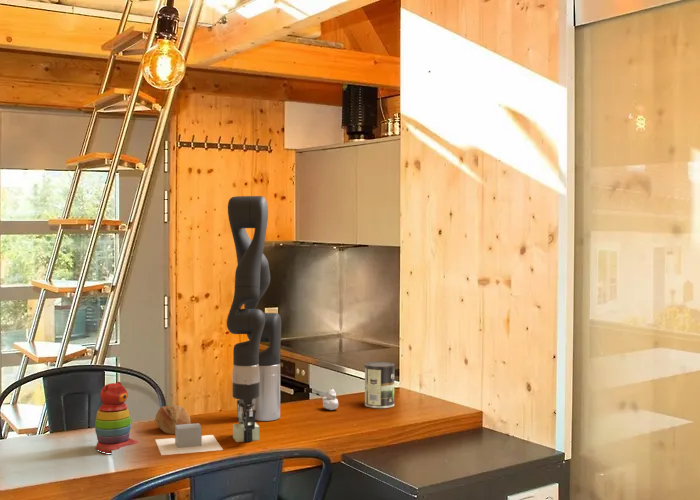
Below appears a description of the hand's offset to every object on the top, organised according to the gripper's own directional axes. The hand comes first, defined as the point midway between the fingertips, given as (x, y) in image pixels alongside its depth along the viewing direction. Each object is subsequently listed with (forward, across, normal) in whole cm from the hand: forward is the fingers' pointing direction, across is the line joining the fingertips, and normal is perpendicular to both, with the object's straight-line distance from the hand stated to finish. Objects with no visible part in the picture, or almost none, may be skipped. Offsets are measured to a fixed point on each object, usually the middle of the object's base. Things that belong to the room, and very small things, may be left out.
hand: (245, 440), depth 223 cm
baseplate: (+1, +1, -16) cm, 16 cm away
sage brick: (+1, 0, 0) cm, 1 cm away
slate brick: (-1, +1, -16) cm, 16 cm away
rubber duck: (+1, -32, +35) cm, 47 cm away
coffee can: (+1, -33, +53) cm, 62 cm away
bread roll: (+1, -18, -18) cm, 25 cm away
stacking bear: (+1, -6, -35) cm, 36 cm away
